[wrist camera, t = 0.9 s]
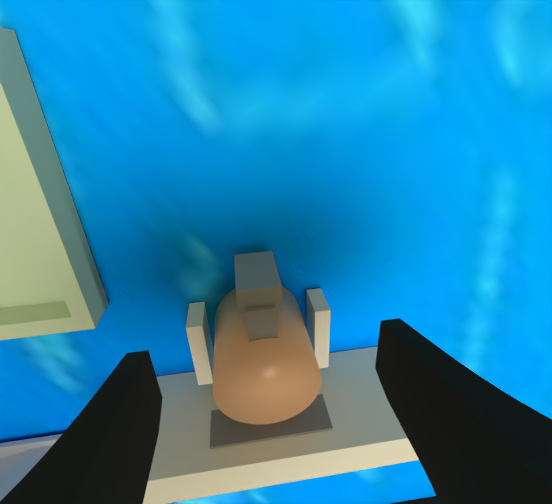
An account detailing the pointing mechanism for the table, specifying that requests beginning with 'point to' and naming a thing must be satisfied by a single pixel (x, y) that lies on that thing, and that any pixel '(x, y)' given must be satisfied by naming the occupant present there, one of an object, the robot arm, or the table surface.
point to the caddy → (262, 347)
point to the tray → (38, 219)
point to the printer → (277, 436)
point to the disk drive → (421, 501)
